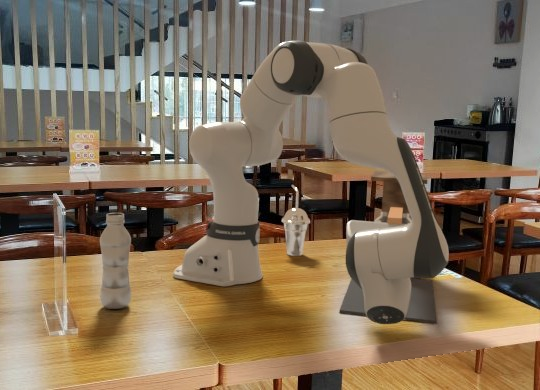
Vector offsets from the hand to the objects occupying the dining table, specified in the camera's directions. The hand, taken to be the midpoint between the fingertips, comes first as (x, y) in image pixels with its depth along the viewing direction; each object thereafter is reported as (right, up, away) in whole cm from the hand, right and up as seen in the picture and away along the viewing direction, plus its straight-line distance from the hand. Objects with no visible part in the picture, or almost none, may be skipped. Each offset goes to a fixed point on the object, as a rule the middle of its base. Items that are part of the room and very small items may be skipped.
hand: (395, 214), depth 132 cm
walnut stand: (+6, -16, +28) cm, 33 cm away
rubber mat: (0, -19, +6) cm, 20 cm away
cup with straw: (-21, -13, +43) cm, 49 cm away
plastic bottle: (-61, -20, -7) cm, 64 cm away
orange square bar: (+1, -2, +5) cm, 6 cm away
